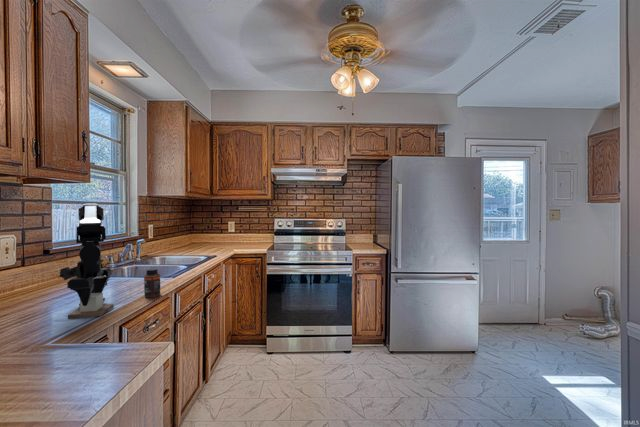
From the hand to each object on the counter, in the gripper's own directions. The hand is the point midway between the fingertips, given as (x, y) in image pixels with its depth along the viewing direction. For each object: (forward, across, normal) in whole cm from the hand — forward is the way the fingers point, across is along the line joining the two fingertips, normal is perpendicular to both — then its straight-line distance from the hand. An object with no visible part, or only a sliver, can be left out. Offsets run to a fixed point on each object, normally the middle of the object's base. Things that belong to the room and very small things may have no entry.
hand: (91, 301), depth 113 cm
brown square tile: (+4, 0, 0) cm, 4 cm away
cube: (+3, 0, 0) cm, 3 cm away
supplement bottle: (+4, -17, +15) cm, 23 cm away
